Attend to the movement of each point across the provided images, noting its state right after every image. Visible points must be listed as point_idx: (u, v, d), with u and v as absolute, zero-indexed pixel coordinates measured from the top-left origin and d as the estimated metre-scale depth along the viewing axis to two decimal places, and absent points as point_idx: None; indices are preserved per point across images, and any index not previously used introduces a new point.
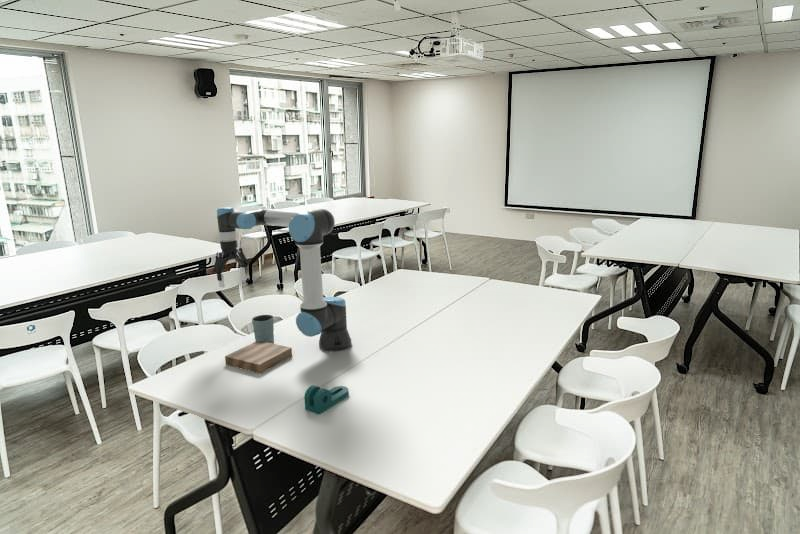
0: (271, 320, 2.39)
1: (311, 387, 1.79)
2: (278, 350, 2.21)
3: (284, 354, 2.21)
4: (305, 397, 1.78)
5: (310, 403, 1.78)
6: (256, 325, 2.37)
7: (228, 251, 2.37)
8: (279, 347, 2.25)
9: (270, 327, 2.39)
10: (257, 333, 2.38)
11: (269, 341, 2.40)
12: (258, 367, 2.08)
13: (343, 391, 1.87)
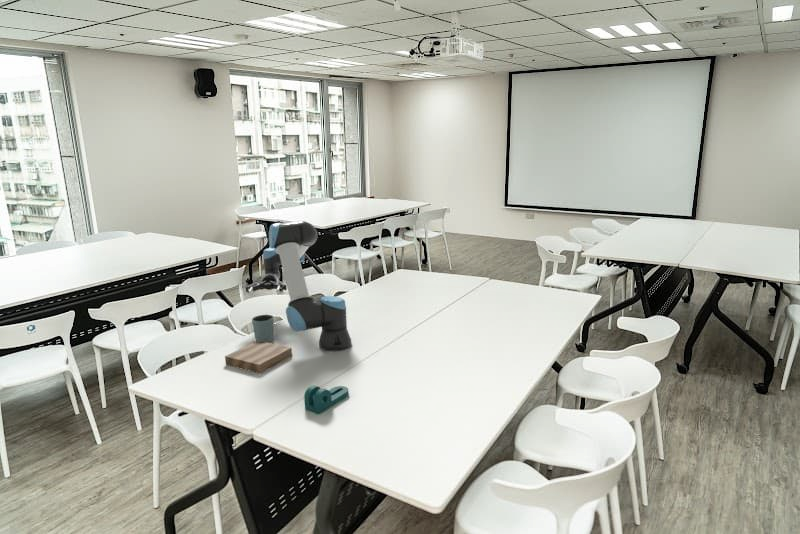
0: (271, 320, 2.39)
1: (311, 387, 1.79)
2: (278, 350, 2.21)
3: (284, 354, 2.21)
4: (305, 397, 1.78)
5: (310, 403, 1.78)
6: (256, 325, 2.37)
7: None
8: (279, 347, 2.25)
9: (270, 327, 2.39)
10: (257, 333, 2.38)
11: (269, 341, 2.40)
12: (258, 367, 2.08)
13: (343, 391, 1.87)
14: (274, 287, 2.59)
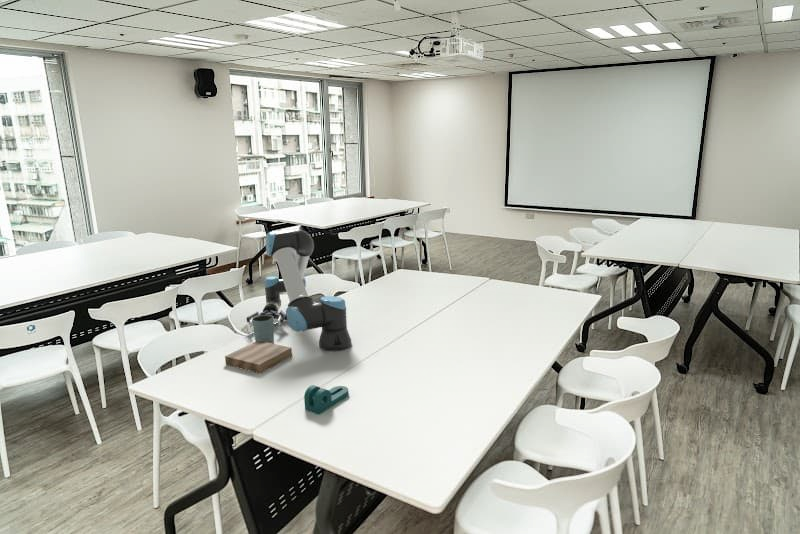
0: (271, 320, 2.39)
1: (311, 387, 1.79)
2: (278, 350, 2.21)
3: (284, 354, 2.21)
4: (305, 397, 1.78)
5: (310, 403, 1.78)
6: (256, 325, 2.37)
7: None
8: (279, 347, 2.25)
9: (270, 327, 2.39)
10: (257, 333, 2.38)
11: (269, 341, 2.40)
12: (258, 367, 2.08)
13: (343, 391, 1.87)
14: (275, 317, 2.59)
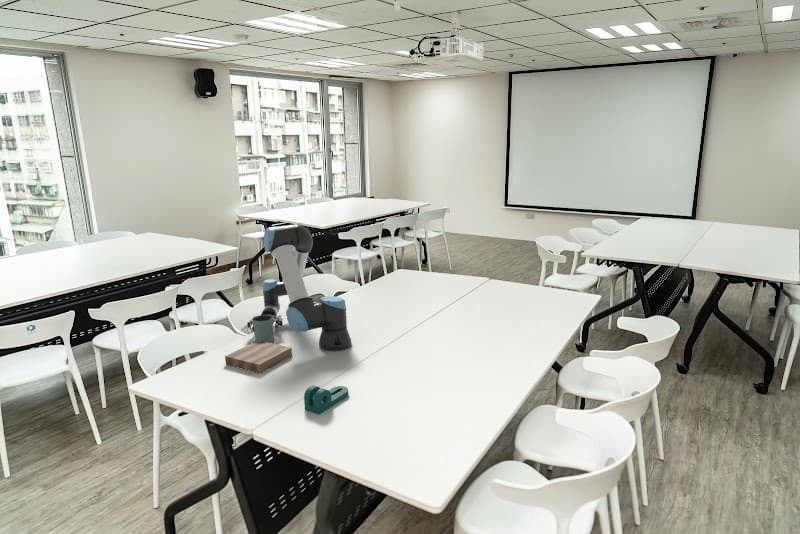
0: (271, 320, 2.39)
1: (311, 387, 1.79)
2: (278, 350, 2.21)
3: (284, 354, 2.21)
4: (305, 397, 1.78)
5: (310, 403, 1.78)
6: (256, 325, 2.37)
7: None
8: (279, 347, 2.25)
9: (270, 327, 2.39)
10: (257, 333, 2.38)
11: (269, 341, 2.40)
12: (258, 367, 2.08)
13: (343, 391, 1.87)
14: None
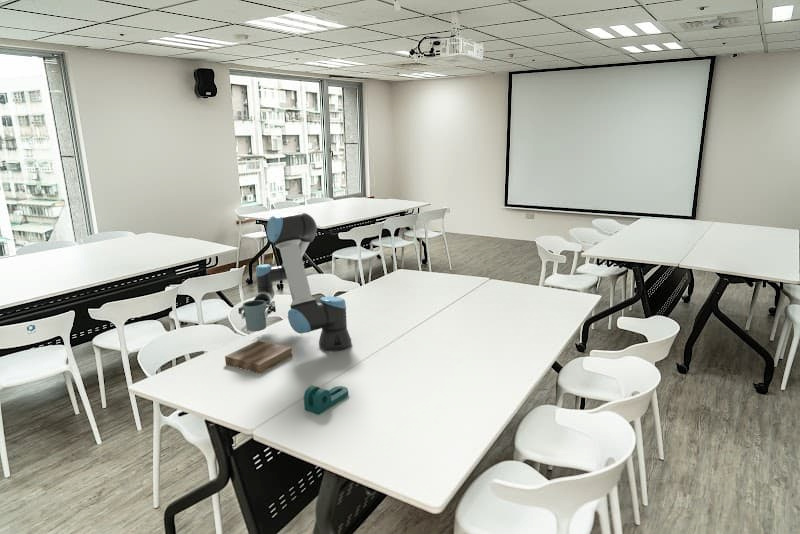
0: (263, 305, 2.26)
1: (310, 387, 1.79)
2: (278, 350, 2.21)
3: (284, 354, 2.21)
4: (304, 397, 1.78)
5: (309, 403, 1.78)
6: (247, 310, 2.23)
7: None
8: (279, 347, 2.25)
9: (262, 313, 2.26)
10: (248, 319, 2.25)
11: (261, 328, 2.27)
12: (258, 367, 2.08)
13: (343, 392, 1.87)
14: None
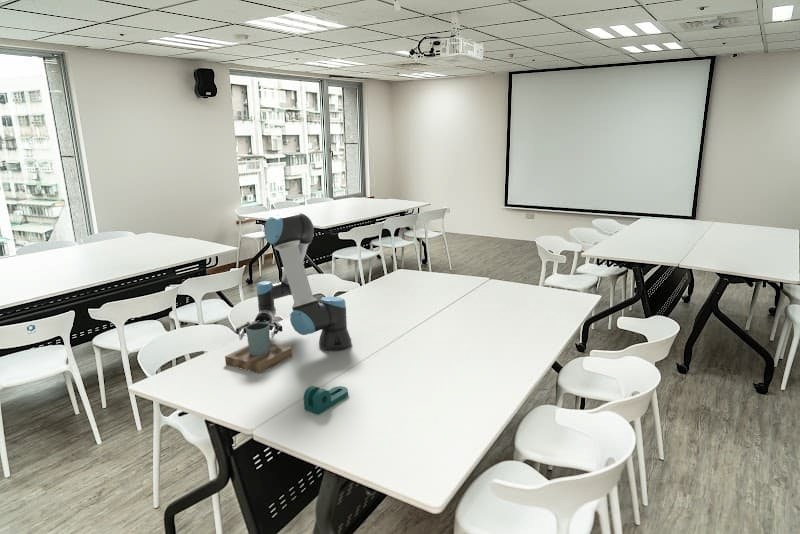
0: (267, 328, 2.17)
1: (310, 387, 1.79)
2: (278, 350, 2.21)
3: (284, 354, 2.21)
4: (304, 397, 1.78)
5: (309, 403, 1.78)
6: (250, 334, 2.14)
7: None
8: (279, 347, 2.25)
9: (266, 336, 2.17)
10: (251, 343, 2.16)
11: (265, 352, 2.18)
12: (258, 367, 2.08)
13: (342, 392, 1.87)
14: None
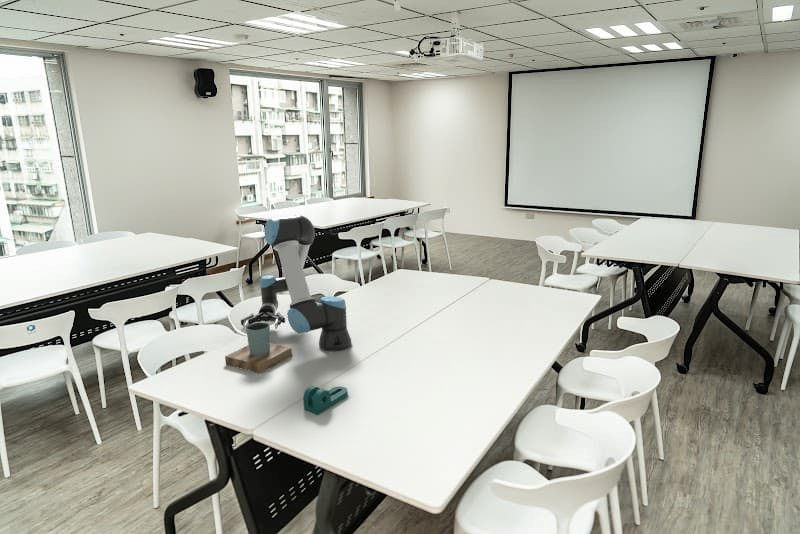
0: (267, 328, 2.17)
1: (310, 387, 1.79)
2: (278, 350, 2.21)
3: (284, 354, 2.21)
4: (304, 397, 1.78)
5: (309, 403, 1.78)
6: (250, 334, 2.14)
7: None
8: (279, 347, 2.25)
9: (266, 336, 2.17)
10: (251, 343, 2.15)
11: (265, 352, 2.18)
12: (258, 367, 2.08)
13: (342, 392, 1.87)
14: (272, 319, 2.39)
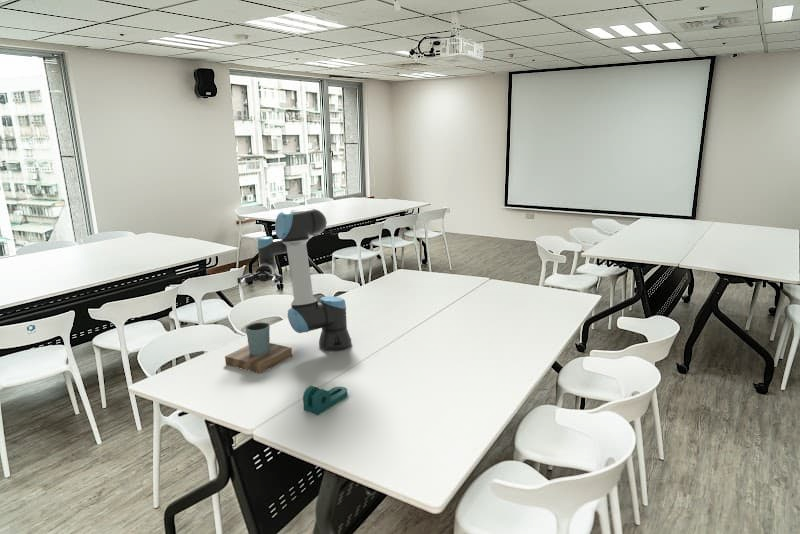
0: (267, 328, 2.17)
1: (310, 388, 1.79)
2: (278, 350, 2.21)
3: (284, 354, 2.21)
4: (304, 398, 1.78)
5: (309, 404, 1.77)
6: (250, 334, 2.14)
7: None
8: (279, 347, 2.25)
9: (266, 336, 2.17)
10: (251, 343, 2.15)
11: (265, 352, 2.18)
12: (258, 367, 2.08)
13: (342, 392, 1.87)
14: (269, 278, 2.36)
